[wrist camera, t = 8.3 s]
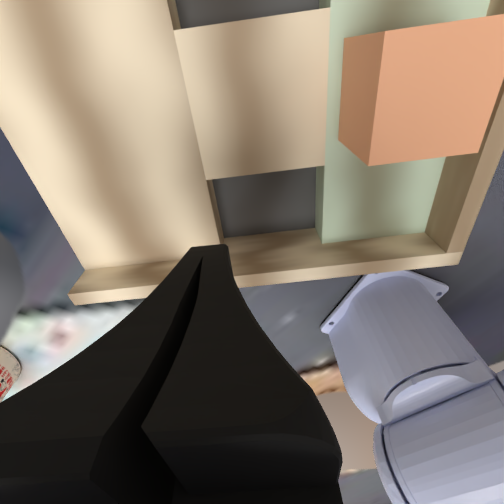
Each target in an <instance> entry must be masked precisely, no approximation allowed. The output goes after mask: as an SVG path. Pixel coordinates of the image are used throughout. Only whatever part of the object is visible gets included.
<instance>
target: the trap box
mask: <svg viewBox="0 0 504 504" xmlns="http://www.w3.org/2000/svg"><path fill="white" fill-rule="evenodd" d="M500 14H504V0H0V127H1V129H2V131H3V132H4V134H5V136H6V137H7V139H8V141H9V142H10V144H11V146H12V147H13V149H14V151H15V153H16V154H17V156H18V158H19V159H20V161H21V163H22V164H23V166H24V168H25V169H26V171H27V173H28V174H29V176H30V178H31V180H32V181H33V183H34V185H35V186H36V188H37V190H38V191H39V193H40V195H41V196H42V198H43V200H44V201H45V203H46V205H47V207H48V208H49V210H50V212H51V213H52V215H53V217H54V218H55V220H56V222H57V223H58V225H59V227H60V228H61V230H62V232H63V234H64V235H65V237H66V239H67V240H68V242H69V244H70V245H71V247H72V249H73V250H74V252H75V254H76V255H77V257H78V259H79V261H80V262H81V264H82V266H83V267H84V269H85V271H84V272H83V274H82V275H81V277H80V278H79V279H78V281H77V282H76V283H75V285H74V286H73V287H72V289H71V290H70V292H69V293H68V296H69V297H70V299H71V300H72V302H73V303H74V305H82V304H91V303H101V302H110V301H119V300H129V299H138V298H147V297H148V296H149V295H150V294H151V292H152V291H153V290H154V289H155V288H156V287H157V286H158V285H159V284H160V283H161V282H162V281H163V280H164V279H165V277H166V276H167V275H168V274H169V273H170V272H171V270H172V269H173V268H174V267H175V266H176V265H177V263H178V262H179V261H180V260H181V258H182V257H183V256H184V255H185V254H186V253H187V251H188V250H189V249H190V248H191V247H196V246H206V245H217V244H226V245H227V246H228V248H229V254H230V260H231V265H232V271H233V276H234V279H235V281H236V284H237V286H238V288H242V287H251V286H261V285H270V284H280V283H289V282H298V281H308V280H317V279H327V278H336V277H346V276H355V275H364V274H374V273H383V272H393V271H402V270H412V269H421V268H430V267H440V266H449V265H458V264H459V261H460V259H461V256H462V253H463V251H464V248H465V246H466V243H467V241H468V238H469V236H470V233H471V231H472V228H473V226H474V223H475V221H476V218H477V216H478V213H479V210H480V208H481V205H482V203H483V200H484V198H485V195H486V193H487V190H488V188H489V185H490V183H491V180H492V178H493V175H494V173H495V170H496V168H497V165H498V162H499V160H500V157H501V155H502V152H503V150H504V79H503V82H502V85H501V87H500V90H499V93H498V96H497V99H496V102H495V105H494V108H493V111H492V114H491V117H490V119H489V122H488V125H487V128H486V131H485V134H484V137H483V140H482V143H481V146H480V148H479V151H478V153H472V154H464V155H455V156H447V157H439V158H431V159H423V160H415V161H407V162H399V163H391V164H383V165H375V166H367V165H366V164H365V163H364V162H363V161H362V160H360V159H359V158H358V157H357V156H356V155H355V154H354V153H352V152H351V151H350V150H349V149H348V148H347V147H346V146H344V145H343V144H342V143H341V142H340V141H339V140H338V132H339V115H340V98H341V81H342V64H343V47H344V38H348V37H354V36H359V35H365V34H371V33H376V32H382V31H388V30H395V29H402V28H409V27H416V26H423V25H430V24H437V23H444V22H451V21H458V20H465V19H472V18H479V17H486V16H493V15H500Z"/></svg>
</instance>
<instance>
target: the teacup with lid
mask: <svg viewBox="0 0 504 504" xmlns="http://www.w3.org/2000/svg"><path fill="white" fill-rule="evenodd" d="M20 371H21V368H20V364H19V362H18V361H17V359H16V358H15V357H14V356H13V355H12V354H11V353H10V352H8V351H7V350H6V349H4V348H2V347H1V346H0V403H1V401H2V400H3V398H4V397H5V395H6V394H7V393H8V391H9V390H10V388H11V387H12V385H13V384H14V383H15V381H16V380H17V378H18V377H19V375H20Z"/></svg>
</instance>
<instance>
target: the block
mask: <svg viewBox="0 0 504 504" xmlns="http://www.w3.org/2000/svg"><path fill="white" fill-rule="evenodd" d="M503 79H504V14H500V15H493V16H486V17H479V18H472V19H465V20H458V21H451V22H444V23H437V24H430V25H423V26H416V27H409V28H402V29H395V30H388V31H382V32H376V33H371V34H365V35H359V36H354V37H348V38H344V47H343V64H342V81H341V98H340V115H339V132H338V140H339V141H340V142H341V143H342V144H343V145H344V146H346V147H347V148H348V149H349V150H350V151H351V152H352V153H354V154H355V155H356V156H357V157H358V158H359V159H360V160H362V161H363V162H364V163H365V164H366V165H367V166H375V165H383V164H391V163H399V162H407V161H415V160H423V159H431V158H439V157H447V156H455V155H464V154H472V153H478V151H479V148H480V146H481V143H482V140H483V137H484V134H485V131H486V128H487V125H488V122H489V119H490V117H491V114H492V111H493V108H494V105H495V102H496V99H497V96H498V93H499V90H500V87H501V85H502V82H503Z"/></svg>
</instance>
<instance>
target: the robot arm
mask: <svg viewBox="0 0 504 504" xmlns="http://www.w3.org/2000/svg"><path fill="white" fill-rule="evenodd" d="M448 290H449V287H448V286H447V285H446V284H444V283H442V282H439V281H436V280H434V279H431V278H428V277H426V276H423V275H420V274H418V273H415V272H412V271H410V270H402V271H393V272H383V273H374V274H364V276H363V277H362V278H361V279H360V280H359V281H358V283H357V284H356V285H355V286H354V287H353V289H352V290H351V291H350V292H349V293H348V294H347V296H346V297H345V298H344V299H343V300H342V302H341V303H340V304H339V305H338V306H337V307H336V309H335V310H334V311H333V312H332V313H331V314H330V316H329V317H328V318H327V319H326V320H325V322H324V323H323V324H322V325H321V327H320V329H321V331H322V332H323V333H327V334H329V337H330V340H331V344H332V347H333V350H334V353H335V356H336V360H337V363H338V366H339V369H340V372H341V376H342V379H343V382H344V385H345V388H346V390H347V392H348V394H349V396H350V398H351V399H352V401H353V402H354V404H355V405H356V406H357V407H358V409H359V410H360V411H361V412H362V413H363V414H364V415H365V416H367V417H368V418H369V419H371V420H372V421H374V422H376V423H378V425H377V426H376V428H375V430H374V438H373V440H374V443H373V449H374V450H373V451H374V458H375V462H376V466H377V470H378V473H379V476H380V478H381V481H382V483H383V486H384V488H385V490H386V492H387V494H388V496H389V498H390V500H391V502H392V504H504V370H502V371H501V372H498V373H495V372H493V371H492V370H491V369H490V368H489V367H488V365H487V364H486V363H485V362H484V360H483V359H482V358H481V356H480V355H479V354H478V353H477V351H476V350H475V349H474V348H473V346H472V345H471V344H470V343H469V341H468V340H467V339H466V338H465V336H464V335H463V334H462V333H461V331H460V330H459V329H458V327H457V326H456V325H455V324H454V322H453V321H452V320H451V319H450V317H449V316H448V315H447V314H446V312H445V311H444V310H443V309H442V307H441V306H440V305H439V304H438V302H437V300H438V299H440V298H441V297H442V296H443V295H444V294H445V293H446V292H447V291H448ZM341 466H342V453H341V449H340V446H339V443H338V441H337V438H336V435H335V433H334V431H333V428H332V426H331V424H330V422H329V420H328V418H327V416H326V414H325V412H324V410H323V408H322V406H321V404H320V403H319V401H318V399H317V397H316V395H315V393H314V391H313V390H312V388H311V387H310V386H309V385H308V384H307V383H306V382H305V381H304V380H303V379H302V378H301V377H300V375H299V374H298V373H297V372H296V371H295V370H294V369H293V368H292V366H291V365H290V364H289V363H288V362H287V361H286V359H285V358H284V357H283V356H282V355H281V353H280V352H279V351H278V350H277V349H276V347H275V346H274V345H273V343H272V342H271V340H270V339H269V338H268V336H267V335H266V334H265V332H264V331H263V330H262V328H261V327H260V325H259V324H258V322H257V321H256V319H255V318H254V316H253V314H252V313H251V311H250V309H249V308H248V306H247V304H246V302H245V300H244V299H243V297H242V295H241V292H240V290H239V288H238V286H237V284H236V281H235V279H234V276H233V271H232V265H231V260H230V254H229V248H228V246H227V245H226V244H217V245H206V246H196V247H191V248H190V249H189V250H188V251H187V253H186V254H185V255H184V256H183V257H182V258H181V260H180V261H179V262H178V263H177V265H176V266H175V267H174V268H173V269H172V270H171V272H170V273H169V274H168V275H167V276H166V277H165V279H164V280H163V281H162V282H161V283H160V284H159V285H158V286H157V287H156V288H155V289H154V290H153V291H152V292H151V294H150V295H149V296H148V297H147V298H146V299H145V300H144V301H143V302H142V303H141V304H140V305H139V306H138V307H136V308H135V309H134V310H133V311H132V312H131V313H130V314H129V315H128V316H126V317H125V318H124V319H123V320H122V321H121V322H120V323H118V324H117V325H116V326H115V327H114V328H112V329H111V330H110V331H108V332H107V333H106V334H104V335H103V336H102V337H100V338H99V339H98V340H97V341H95V342H94V343H93V344H91V345H90V346H89V347H87V348H86V349H85V350H83V351H82V352H80V353H79V354H78V355H76V356H75V357H73V358H72V359H70V360H69V361H67V362H66V363H64V364H63V365H61V366H60V367H58V368H57V369H55V370H54V371H52V372H51V373H49V374H48V375H46V376H44V377H43V378H41V379H40V380H38V381H36V382H35V383H33V384H32V385H30V386H28V387H27V388H25V389H23V390H21V391H20V392H18V393H16V394H15V395H13V396H11V397H9V398H8V399H6V400H4V401H3V402H1V403H0V504H343V501H342V497H341V492H340V488H339V483H338V479H339V475H340V470H341Z"/></svg>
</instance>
